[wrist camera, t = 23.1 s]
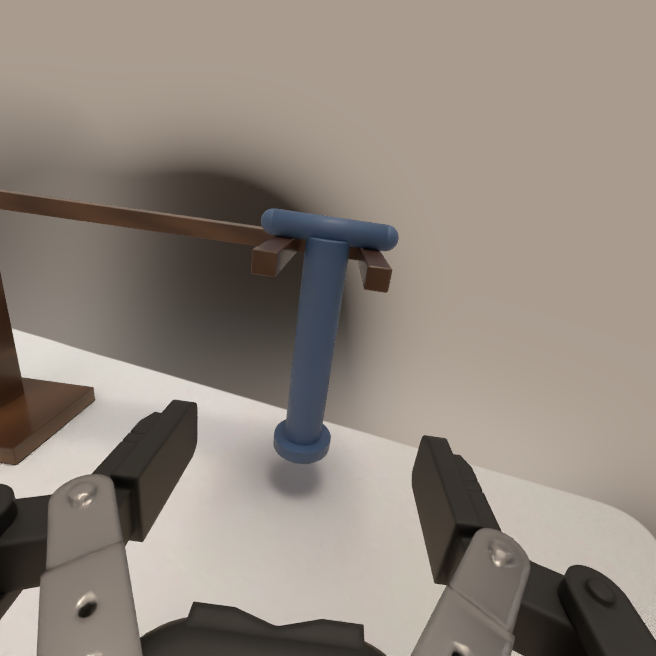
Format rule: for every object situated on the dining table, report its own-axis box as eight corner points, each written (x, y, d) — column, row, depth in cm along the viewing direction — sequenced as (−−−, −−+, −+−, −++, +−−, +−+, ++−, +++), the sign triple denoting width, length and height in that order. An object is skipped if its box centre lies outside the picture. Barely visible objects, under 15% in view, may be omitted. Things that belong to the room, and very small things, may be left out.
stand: (337, 433, 35) (373, 231, 28) (335, 552, 23) (395, 256, 16) (-26, 383, 35) (-82, 165, 28) (-213, 478, 23) (-392, 143, 16)
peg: (356, 471, 26) (406, 230, 20) (239, 455, 26) (253, 208, 19) (354, 433, 30) (395, 224, 24) (254, 419, 30) (269, 205, 24)
